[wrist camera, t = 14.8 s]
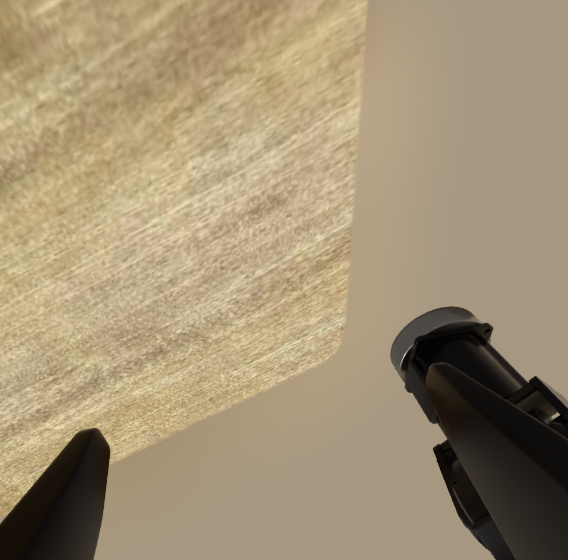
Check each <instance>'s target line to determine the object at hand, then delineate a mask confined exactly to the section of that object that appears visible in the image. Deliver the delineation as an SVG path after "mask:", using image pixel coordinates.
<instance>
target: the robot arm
mask: <svg viewBox="0 0 568 560" xmlns="http://www.w3.org/2000/svg"><path fill="white" fill-rule="evenodd" d="M492 331H493V327H492V326H491V325H490V324H488V323H482V324H477V325H472V326H467V327H462V328H457V329H452V330H447V331H442V332H437V333H432V334H427V335H422V336H418V337H417V338H416V339H415V340H414V343H413V348H412V353H411V358H410V362H409V366H408V371H407V376H406V383H405V388H406V390H407V391H408V392H409V393H413V395H414V396H415V398H416V399H417V401H418V403H419V404H420V406H421V408H422V409H423V411H424V413H425V414H426V416H427V418H428V419H429V421H430V422H431V423H433V424H437V423H438V425H439V426H440V428H441V430H442V431H443V433H444V434H445V436H446V438H447V440H446V441H445V442H443V443H442V444H438V445H436V446H435V447H433V451H434V453H435V456H436V458H437V463H438V465H439V468H440V470H441V473H442V475H443V478H444V480H445V483H446V485H447V488H448V491H449V493H450V496H451V498H452V501H453V503H454V506H455V508H456V511H457V513H458V516H459V517H460V519H461V520H462V522H463V524H464V525H465V527H466V528H468V529H469V530H470V531H471V533H472V534H473V535H474V537H475V538H476V539H477V540H478V541H479V542H480V543H481V544H482V545H483V546H484V547H485V548H486V549H488V550H489V551H490V552H491V553H492V555H493V556H494V558H495V559H496V560H568V401H567V400H566V399H565V398H564V397H563V396H562V395H561V394H559V393H558V392H556V391H555V390H554V389H553V388H551V387H550V386H549V385H547V384H546V383H545V382H544V381H542V380H541V379H540V378H538V377H537V376H534V377H533V378H532V379H530V380H529V383H528V382H527V381H526V380H525V379H524V378H523V377H522V376H521V375H520V374H519V373H518V372H517V371H516V370H515V369H514V368H513V367H512V366H511V365H510V364H509V363H508V362H507V361H506V360H505V359H504V358H503V357H502V356H501V355H500V354H499V353H498V352H497V351H496V350H495V349H494V348H493V347H492V346H491V345H490V344H489V343H488V341H489V339H490V336H491V333H492ZM557 412H558V413H559V414H560V416H558V417H556V418H555V419H552V418H551V416H552V415H554V414H556V413H557ZM109 459H110V447H109V444H108V443H107V441H106V440H105V438H104V437H103V435H102V433H101V432H100V430H99V429H97V428H91V429H86V430H82V431H79V432H78V433H77V434H76V435H75V436H74V437H73V438H72V440H71V441H70V442H69V443H68V444H67V445H66V447H65V448H64V449H63V450H62V451H61V453H60V454H59V455H58V456H57V457H56V458H55V460H54V461H53V462H52V463H51V464H50V466H49V467H48V468H47V469H46V470H45V471H44V473H43V474H42V475H41V476H40V477H39V479H38V480H37V481H36V482H35V483H34V485H33V486H32V487H31V488H30V489H29V490H28V492H27V493H26V494H25V495H24V496H23V498H22V499H21V500H20V501H19V502H18V503H17V505H16V506H15V507H14V508H13V509H12V511H11V512H10V513H9V514H8V515H7V516H6V518H5V519H4V520H3V521H2V522H1V524H0V560H93V559H94V554H95V550H96V546H97V541H98V537H99V532H100V527H101V522H102V516H103V510H104V501H105V493H106V485H107V475H108V468H109Z"/></svg>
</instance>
